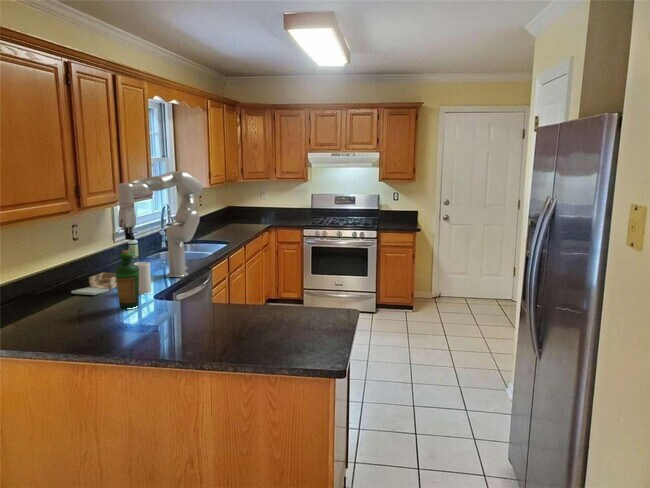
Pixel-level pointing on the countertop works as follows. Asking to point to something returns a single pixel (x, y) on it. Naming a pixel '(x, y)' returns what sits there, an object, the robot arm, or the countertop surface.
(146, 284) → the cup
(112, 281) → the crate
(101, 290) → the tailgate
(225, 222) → the countertop surface
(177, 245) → the robot arm
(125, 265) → the bottle
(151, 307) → the countertop surface
